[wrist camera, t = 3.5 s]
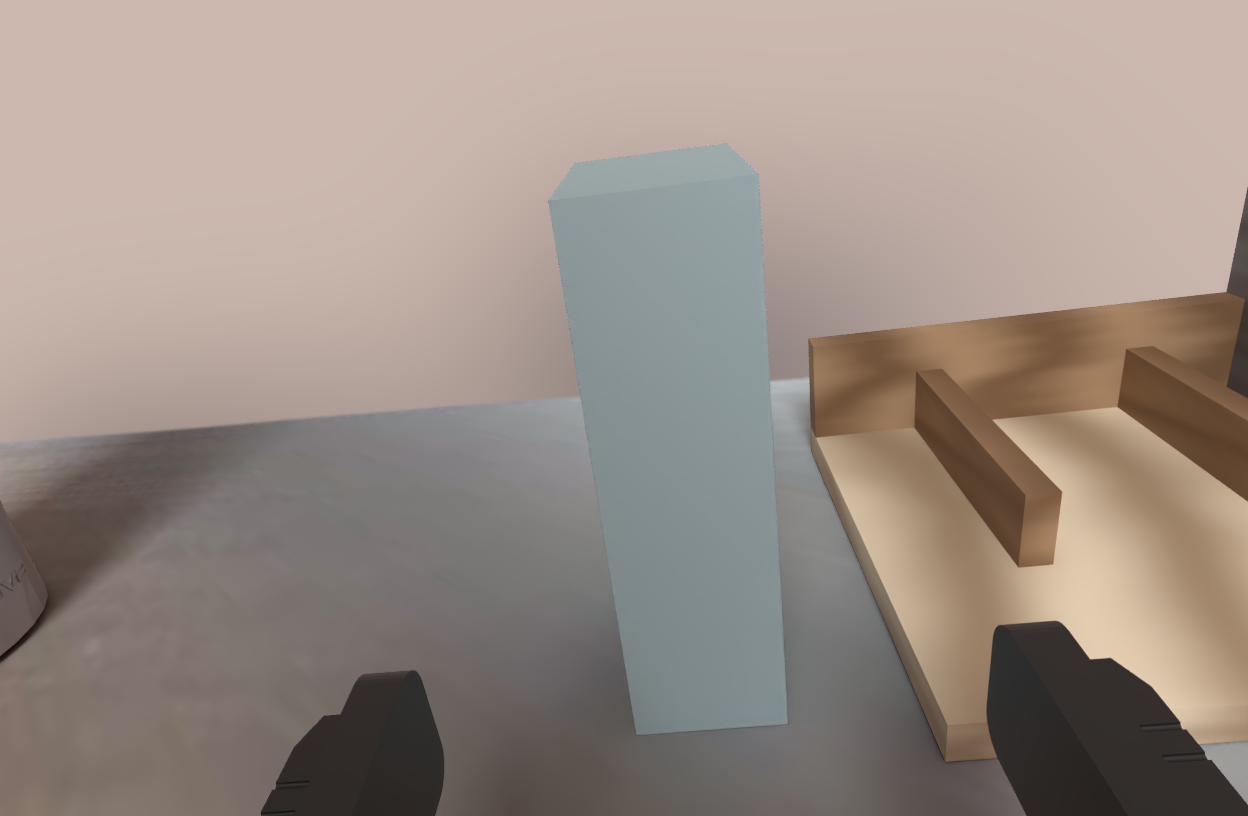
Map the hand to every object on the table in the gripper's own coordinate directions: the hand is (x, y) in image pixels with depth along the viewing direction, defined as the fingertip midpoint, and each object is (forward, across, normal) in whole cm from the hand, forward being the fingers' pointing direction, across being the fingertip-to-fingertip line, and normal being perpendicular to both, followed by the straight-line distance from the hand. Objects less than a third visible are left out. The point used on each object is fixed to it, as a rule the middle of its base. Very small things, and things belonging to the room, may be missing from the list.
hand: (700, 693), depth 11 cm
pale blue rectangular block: (+10, 0, +8) cm, 13 cm away
